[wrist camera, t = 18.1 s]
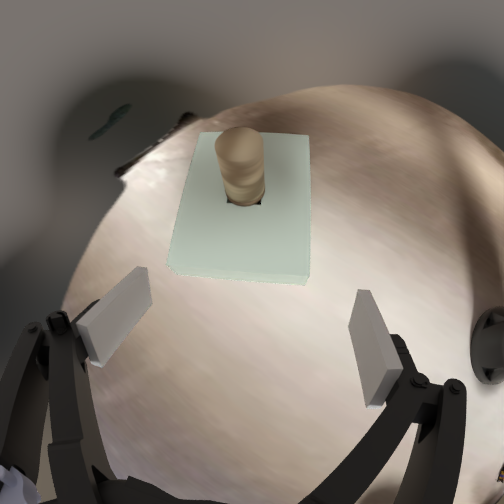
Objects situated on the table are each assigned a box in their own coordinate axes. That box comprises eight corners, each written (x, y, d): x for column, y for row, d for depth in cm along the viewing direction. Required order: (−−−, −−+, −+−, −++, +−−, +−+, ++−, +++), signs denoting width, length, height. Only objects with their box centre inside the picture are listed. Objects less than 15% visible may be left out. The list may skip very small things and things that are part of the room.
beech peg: (266, 190, 46) (265, 127, 32) (264, 221, 44) (261, 162, 30) (231, 189, 47) (218, 126, 33) (226, 219, 44) (209, 160, 30)
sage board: (306, 153, 49) (308, 135, 45) (304, 285, 40) (309, 276, 36) (205, 149, 51) (200, 132, 47) (176, 274, 42) (166, 264, 37)
